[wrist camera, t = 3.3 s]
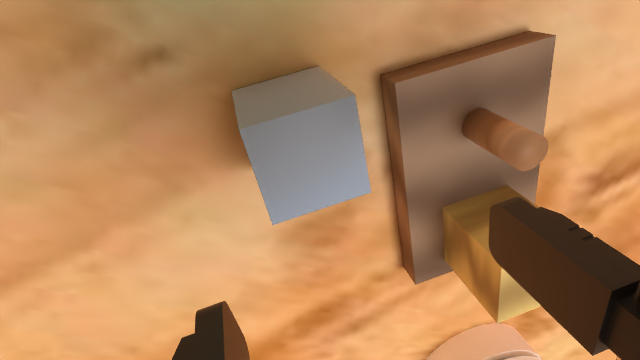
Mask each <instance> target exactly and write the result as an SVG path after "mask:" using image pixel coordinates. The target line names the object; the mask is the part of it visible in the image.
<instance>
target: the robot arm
mask: <svg viewBox="0 0 640 360" xmlns="http://www.w3.org/2000/svg"><path fill="white" fill-rule="evenodd" d="M489 249H490V252H491V254H492V256H493V258H494V259H495V261H496V262H497V263H498V264H499V265H500V266H501V267H502V268H503V269H504V270H505V271H506V272H507V273H508V274H509V275H510V276H511V277H512V278H513V279H514V280H515V281H516V282H517V283H518V284H519V285H520V286H521V287H522V288H523V289H524V290H525V291H526V292H528V293H529V294H530V295H531V296H532V297H533V298H534V299H535V300H536V301H537V302H538V303H539V304H540V305H541V306H542V307H543V308H544V309H545V310H546V311H547V312H548V313H549V314H550V315H551V316H552V317H553V318H554V319H555V320H556V321H557V322H558V323H559V324H560V325H561V326H563V327H564V328H565V329H566V330H567V331H568V332H569V333H570V334H571V335H572V336H573V337H574V338H575V339H576V340H577V341H578V342H579V343H580V344H581V345H582V346H583V347H584V348H585V349H586V350H587V351H588V352H589V353H590V354H591V355H592V356H593V355H595V354H598V353H600V352H602V351H605V350H607V349H610V350H611V351H612V352H614V353H615V354H616V355H617V358H616V360H640V265H638V264H637V263H635V262H634V261H632V260H631V259H629V258H628V257H626V256H625V255H623V254H622V253H620V252H619V251H617V250H616V249H614V248H612V247H611V246H609V245H608V244H606V243H605V242H603V241H602V240H600V239H599V238H597V237H593V234H591V233H590V232H588V231H587V230H585V229H584V228H580V227H579V225H577V224H576V223H574V222H573V221H571V220H570V219H568V218H567V217H565V216H564V215H562V214H560V213H557V212H554V211H551V210H548V209H545V208H543V207H539V208H536V207H534V206H533V205H531V204H530V203H529V202H527V201H526V200H524V199H522V198H520V197H514V198H511V199H508V200H505V201H503V202H500V203H497V204H494V205H492V206H491V208H490V216H489ZM172 360H250V358H249V352H248V347H247V344H246V341H245V338H244V335H243V333H242V331H241V329H240V327H239V326H238V324H237V322H236V320H235V318H234V316H233V314H232V312H231V310H230V308H229V306H228V304H227V303H226V302H225V301H223V302H220V303H217V304H214V305H212V306H209V307H206V308H203V309H201V310H198V311H197V312H196V318H195V333H194V334H191V335H189V336H186V337H183V338H182V339H181V341H180V343H179V345H178V347H177V349H176V351H175V354H174V356H173V358H172Z"/></svg>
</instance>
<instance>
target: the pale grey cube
mask: <svg viewBox="0 0 640 360" xmlns="http://www.w3.org/2000/svg"><path fill="white" fill-rule="evenodd" d="M232 96H233V102H234V107H235V112H236V117H237V123H238V128H239V132H240V134H241V137H242V140H243V143H244V146H245V148H246V151H247V154H248V157H249V160H250V163H251V165H252V168H253V171H254V174H255V177H256V179H257V182H258V185H259V188H260V191H261V194H262V196H263V199H264V202H265V205H266V208H267V210H268V213H269V216H270V219H271V222H272V225H275V224H278V223H281V222H284V221H287V220H290V219H293V218H296V217H299V216H302V215H305V214H308V213H311V212H314V211H317V210H320V209H323V208H326V207H329V206H332V205H335V204H338V203H341V202H344V201H347V200H350V199H353V198H356V197H359V196H362V195H365V194H368V193H371V189H370V183H369V176H368V170H367V164H366V158H365V152H364V146H363V140H362V134H361V127H360V121H359V115H358V109H357V103H356V97H355V94H353V93H352V92H351V91H350V90H348V89H347V88H346V87H345V86H343V85H342V84H341V83H340V82H338V81H337V80H336V79H335V78H334V77H332V76H331V75H330V74H329V73H327V72H326V71H325V70H324V69H322V68H321V67H320V66H317V67H313V68H310V69H306V70H303V71H299V72H296V73H292V74H289V75H285V76H282V77H278V78H274V79H271V80H267V81H264V82H260V83H257V84H253V85H250V86H246V87H243V88H239V89H236V90H232Z"/></svg>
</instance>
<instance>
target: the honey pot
mask: <svg viewBox="0 0 640 360" xmlns="http://www.w3.org/2000/svg"><path fill="white" fill-rule="evenodd" d="M426 360H541V358H540V357H539V356H538V354H537V353H536V352H535V351H534V350H533V349H532V347H531V346H530V345H529V344H528V343H527V342H526V341H525V339H524V338H523V337H522V336H521V335H520V334H519V333H518V331H517V330H516V329H515V328H514V327H511V326H509V325H507V324H501V323H490V324H484V325H479V326H476V327H473V328H470V329H467V330H465V331H463V332H461V333H459V334H457V335H455V336H453V337H451V338H450V339H448V340H447V341H446V342H444V343H443V344H442V345H440V346H439V347H437V348H436V349H435V350H434V351H433V352H432V353H431V354H430V355H429V356H428V357H427V358H426Z"/></svg>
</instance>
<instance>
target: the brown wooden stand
mask: <svg viewBox="0 0 640 360" xmlns="http://www.w3.org/2000/svg"><path fill="white" fill-rule="evenodd" d="M555 38H556V35H551V34H545V33H538V32H532V31H529V32H525V33H522V34H518V35H515V36H512V37H508V38H505V39H501V40H498V41H495V42H491V43H488V44H484V45H481V46H478V47H474V48H471V49H467V50H464V51H461V52H457V53H454V54H450V55H447V56H444V57H440V58H437V59H433V60H430V61H427V62H423V63H420V64H416V65H413V66H410V67H406V68H403V69H399V70H396V71H393V72H389V73H386V74H383V75H381V83H382V91H383V100H384V108H385V116H386V124H387V132H388V141H389V149H390V157H391V165H392V173H393V182H394V190H395V198H396V206H397V214H398V223H399V231H400V239H401V247H402V255H403V264H404V268H405V270H406V271H407V273H408V274H409V276H410V277H411V279H412V280H413V281H414V283H415V284H419V283H421V282H424V281H427V280H430V279H432V278H435V277H438V276H440V275H443V274H446V273H448V272H451V271H454V272H455V273H456V274H457V275H458V277H459V278H460V279H461V280H462V281H463V283H464V284H465V285H466V286H467V287H468V289H469V290H470V291H471V292H472V293H473V295H474V296H475V297H476V298H477V299H478V301H479V302H480V303H481V304H482V305H483V307H484V308H485V309H486V310H487V311H488V313H489V314H490V315H491V316H492V318H493V319H494V320H495V321H496V322H497V323H499V322H502V321H505V320H507V319H510V318H512V317H515V316H517V315H520V314H522V313H525V312H527V311H530V310H532V309H535V308H537V307H540V306H541V305H540V304H539V303H538V302H537V301H536V300H535V299H534V298H533V297H532V296H531V295H530V294H529V293H528V292H526V291H525V290H524V289H523V288H522V287H521V286H520V285H519V284H518V283H517V282H516V281H515V280H514V279H513V278H512V277H511V276H510V275H509V274H508V273H507V272H506V271H505V270H504V269H503V268H502V267H501V266H500V265H499V264H498V263H497V262H496V261H495V259H494V258H493V256H492V254H491V252H490V249H489V216H490V208H491V206H492V205H494V204H497V203H500V202H503V201H505V200H508V199H511V198H514V197H520V198H522V199H524V200H526V201H527V202H529V203H530V204H531V205H533V206H534V207H536V208H539V207H538V206H537V205H535V198H536V190H537V182H538V174H539V166H540V162H541V161H542V160H543V159H544V157H545V155H546V153H547V150H548V141H547V139H546V138H545V137H543V134H544V126H545V118H546V110H547V102H548V94H549V86H550V78H551V70H552V62H553V54H554V46H555Z"/></svg>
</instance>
